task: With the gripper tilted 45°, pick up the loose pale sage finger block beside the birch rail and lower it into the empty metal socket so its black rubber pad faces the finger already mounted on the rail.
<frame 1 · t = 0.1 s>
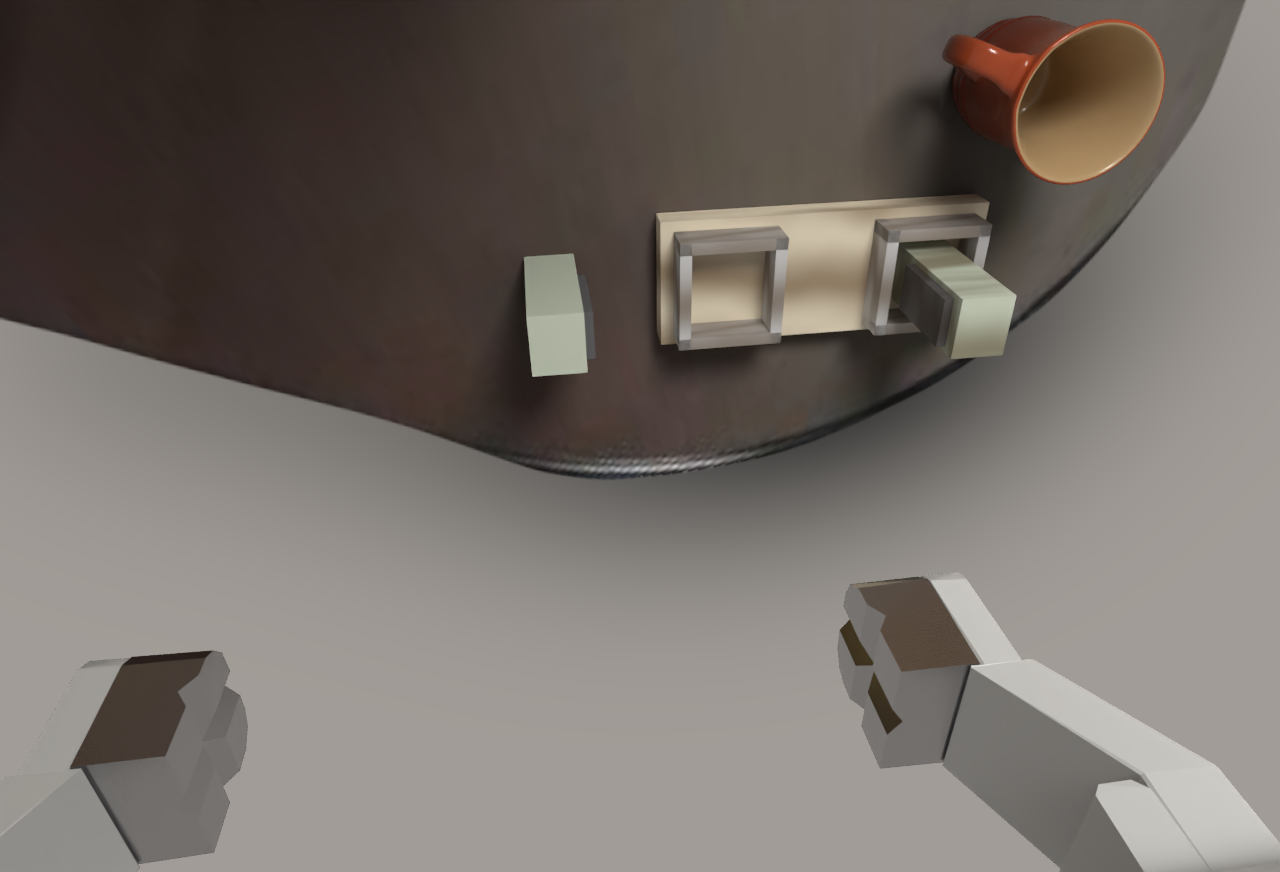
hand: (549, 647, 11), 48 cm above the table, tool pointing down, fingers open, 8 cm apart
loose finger: (550, 282, 59), on the table
mug: (978, 65, 55), on the table
rail: (813, 264, 61), on the table
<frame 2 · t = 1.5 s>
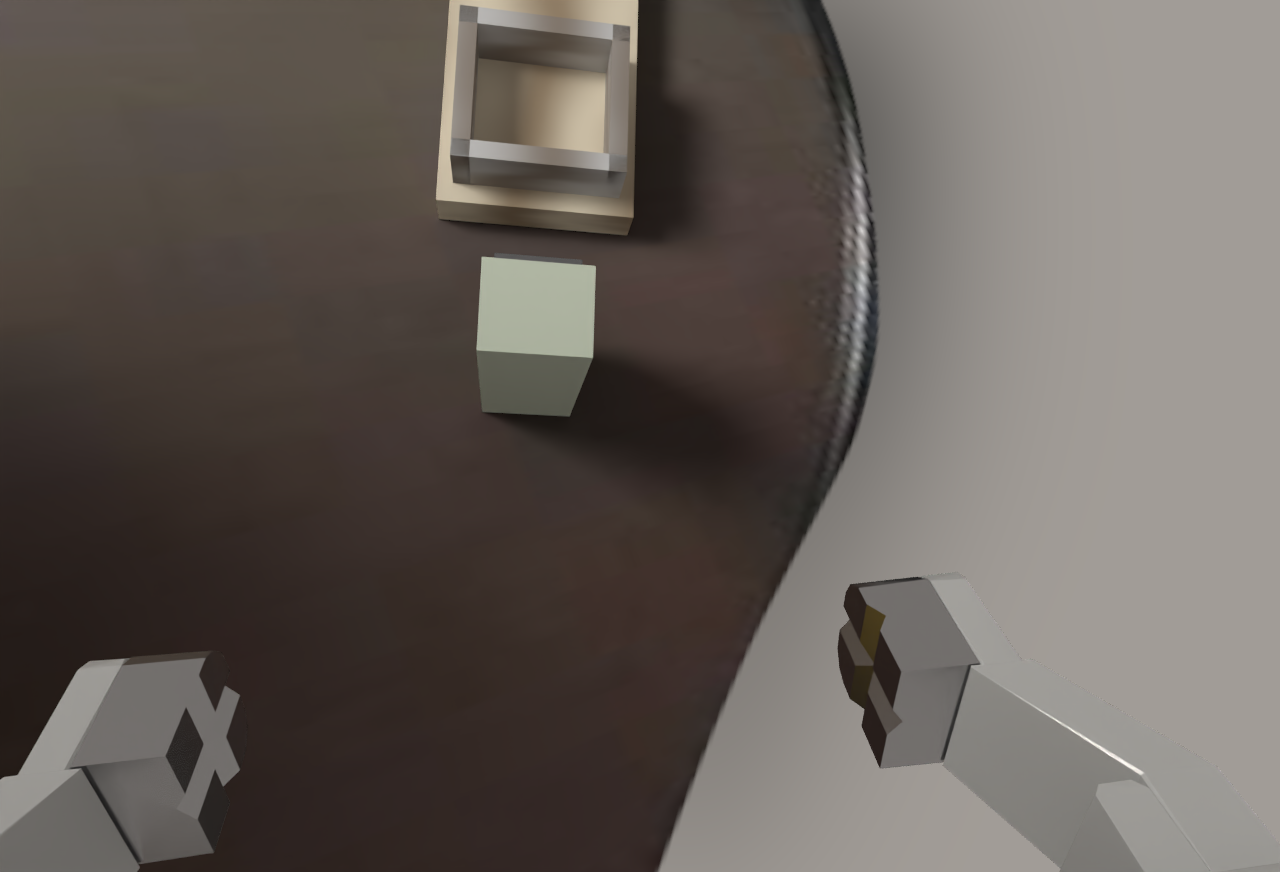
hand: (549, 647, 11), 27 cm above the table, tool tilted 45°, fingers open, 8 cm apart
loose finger: (527, 378, 39), on the table
rail: (544, 15, 43), on the table
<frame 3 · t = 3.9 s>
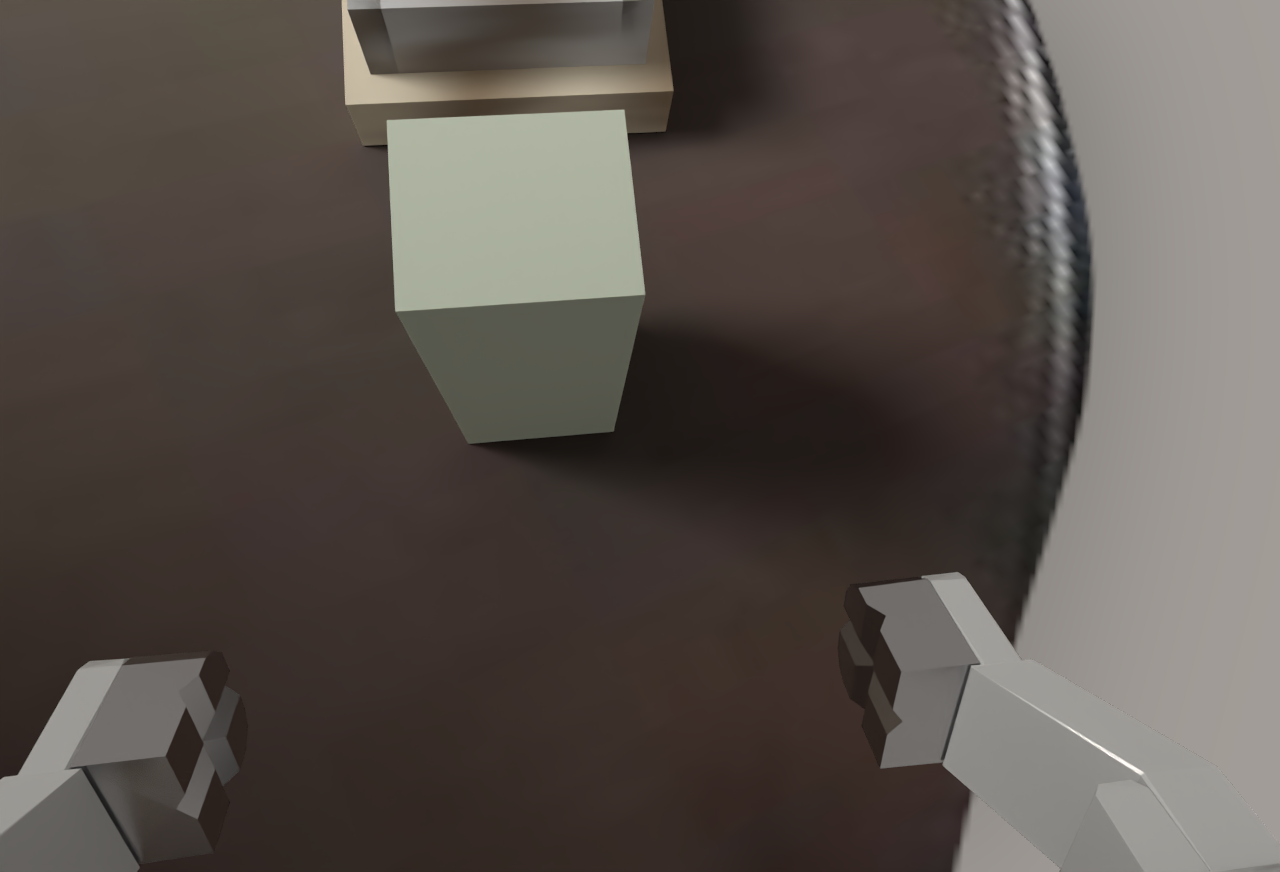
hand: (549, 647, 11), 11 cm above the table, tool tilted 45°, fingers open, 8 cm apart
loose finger: (536, 378, 24), on the table
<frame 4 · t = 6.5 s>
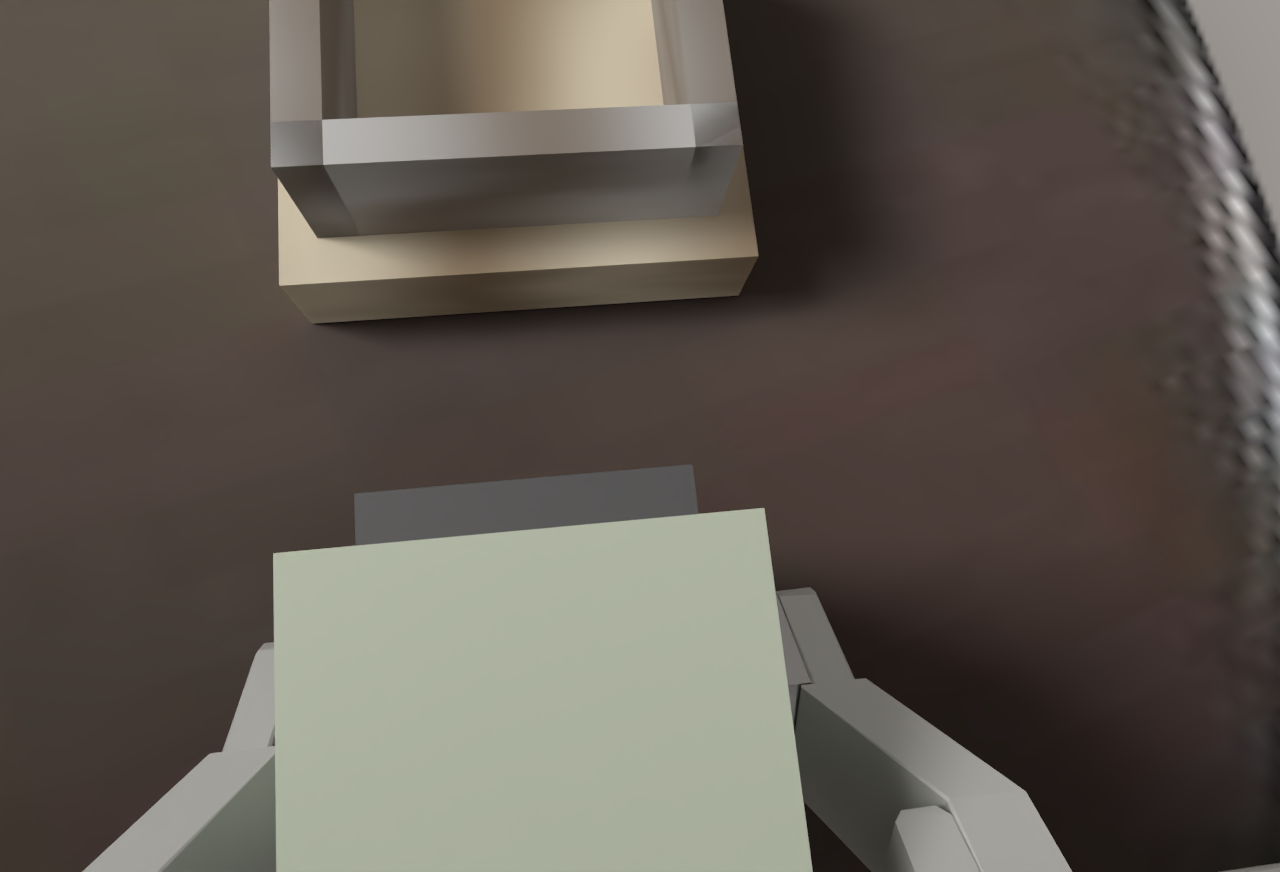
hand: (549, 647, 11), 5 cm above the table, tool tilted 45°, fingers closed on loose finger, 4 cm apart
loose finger: (559, 674, 16), on the table, touching gripper
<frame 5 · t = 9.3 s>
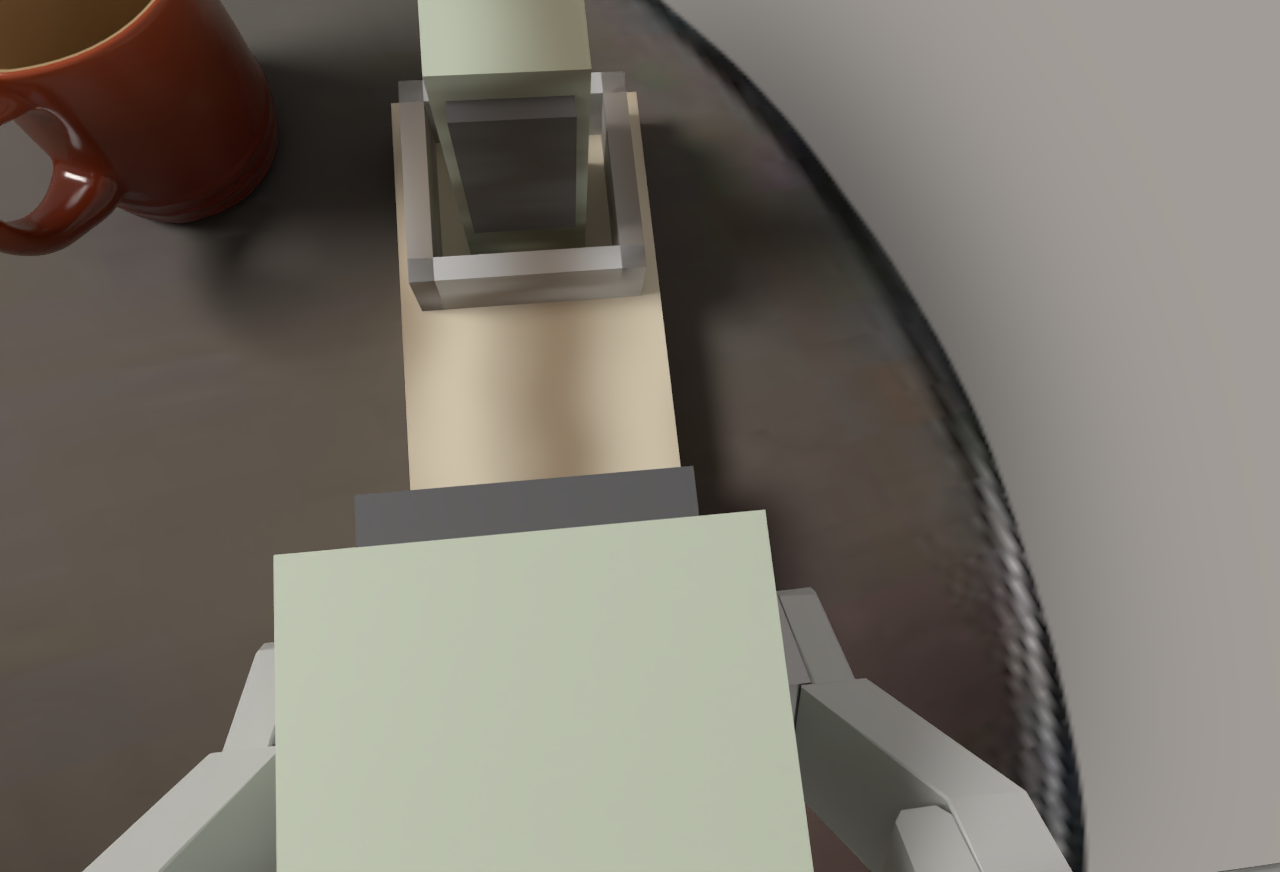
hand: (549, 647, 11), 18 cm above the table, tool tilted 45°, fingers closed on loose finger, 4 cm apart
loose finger: (559, 674, 16), point 13 cm above the table, touching gripper
mug: (174, 185, 32), on the table
rail: (542, 411, 31), on the table
when the fingers open (8 cm above the table, at t = 12.2 s): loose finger stays where it is, resting on rail.
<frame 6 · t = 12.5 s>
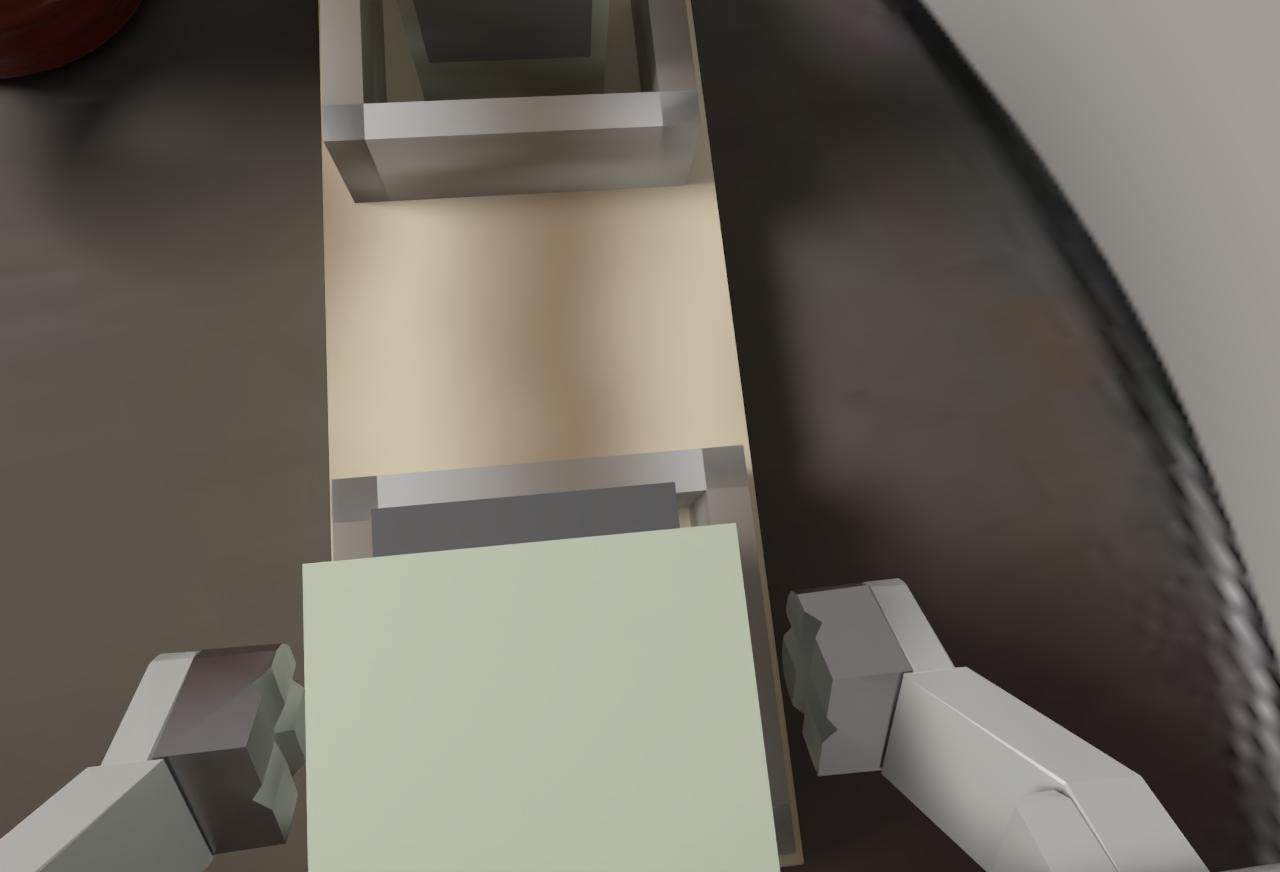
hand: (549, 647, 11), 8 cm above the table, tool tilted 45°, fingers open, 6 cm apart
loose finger: (557, 672, 17), point 2 cm above the table, touching rail
mug: (3, 30, 22), on the table
rail: (537, 360, 21), on the table
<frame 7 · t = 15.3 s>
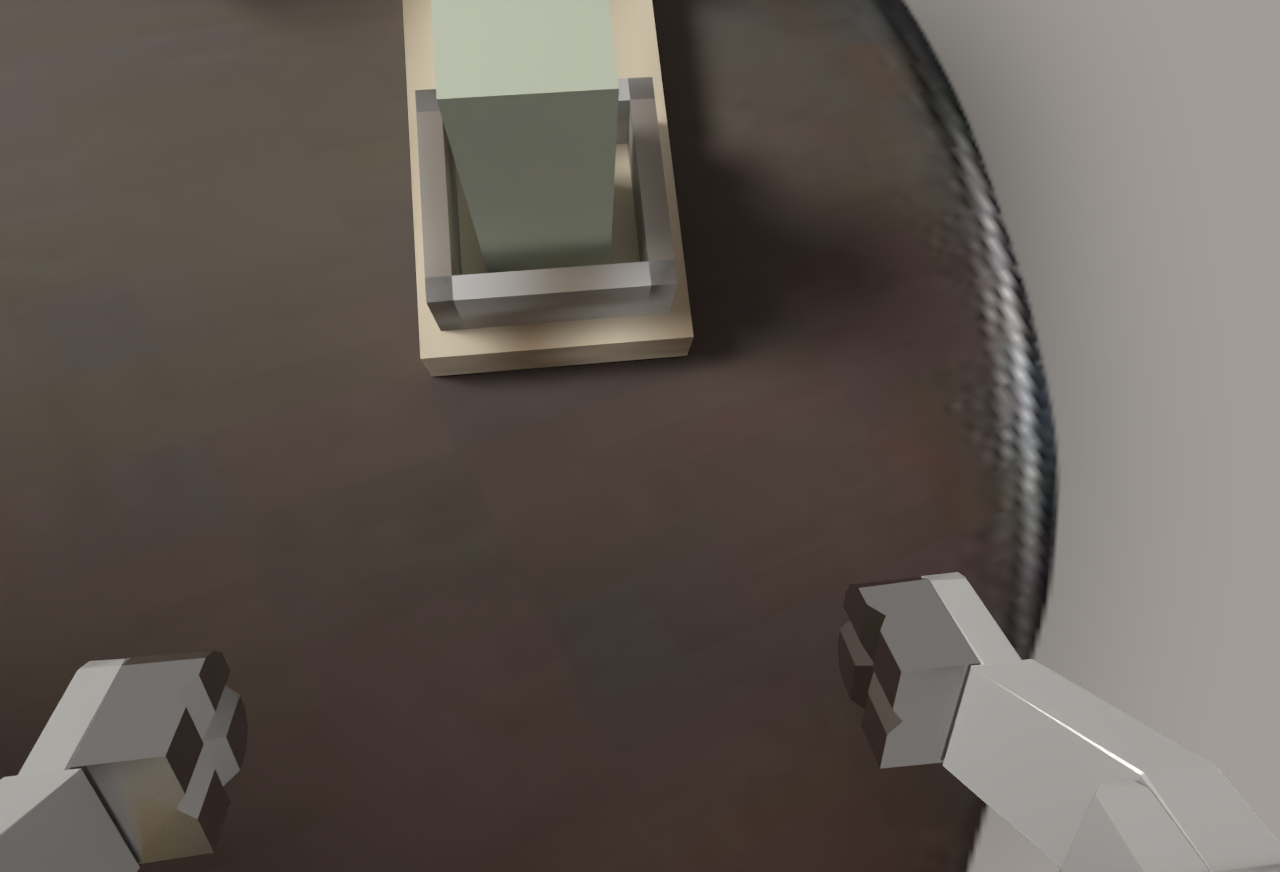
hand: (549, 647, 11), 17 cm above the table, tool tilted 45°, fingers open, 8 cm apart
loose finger: (546, 230, 29), point 2 cm above the table, touching rail
rail: (535, 79, 32), on the table
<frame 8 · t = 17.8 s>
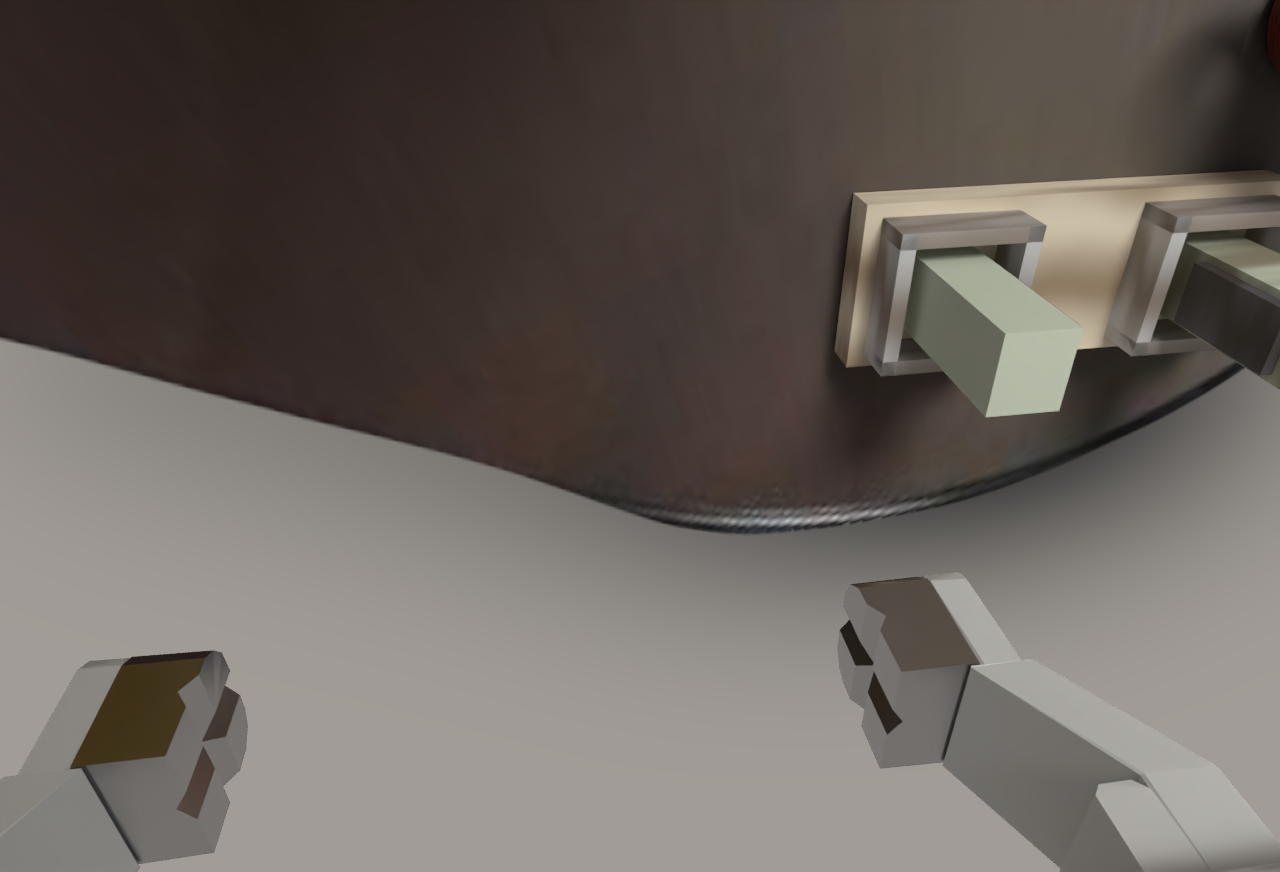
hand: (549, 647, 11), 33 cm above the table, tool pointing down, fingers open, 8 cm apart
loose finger: (933, 283, 44), point 2 cm above the table, touching rail
rail: (1044, 262, 46), on the table
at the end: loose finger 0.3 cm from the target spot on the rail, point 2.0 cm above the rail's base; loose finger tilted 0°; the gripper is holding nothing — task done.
